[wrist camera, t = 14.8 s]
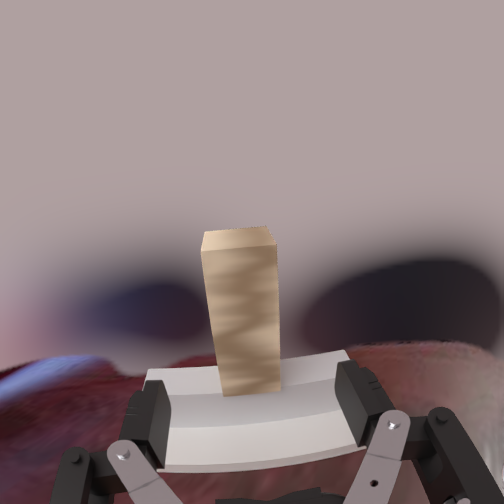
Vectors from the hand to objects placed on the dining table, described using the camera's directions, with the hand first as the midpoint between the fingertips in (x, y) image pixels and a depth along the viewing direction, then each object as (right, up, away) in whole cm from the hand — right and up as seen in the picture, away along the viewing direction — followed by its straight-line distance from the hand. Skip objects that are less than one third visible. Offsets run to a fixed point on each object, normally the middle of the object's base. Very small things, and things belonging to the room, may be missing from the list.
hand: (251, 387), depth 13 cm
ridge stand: (0, -10, +13) cm, 17 cm away
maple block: (0, -4, +11) cm, 12 cm away
